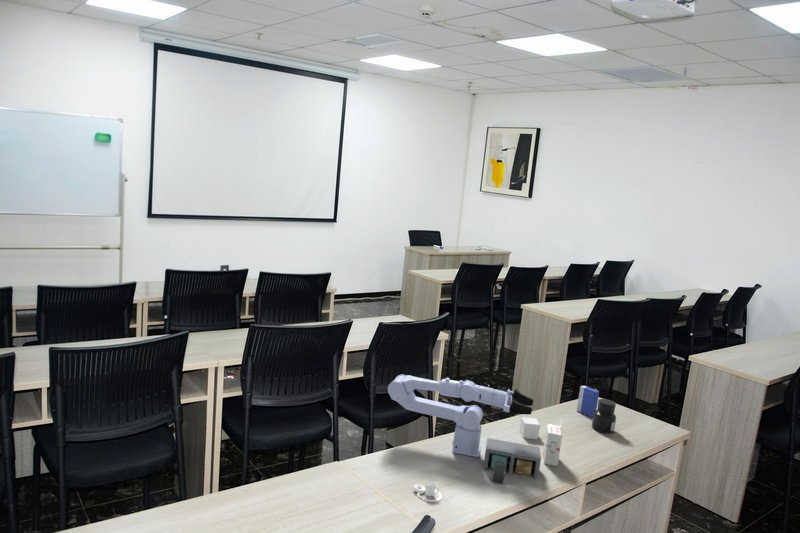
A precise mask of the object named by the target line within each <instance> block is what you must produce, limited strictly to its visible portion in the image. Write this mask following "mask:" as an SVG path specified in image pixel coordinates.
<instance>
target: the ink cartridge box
mask: <svg viewBox="0 0 800 533" xmlns="http://www.w3.org/2000/svg"><path fill="white" fill-rule="evenodd" d="M563 427H564V426H563V421H562V418H560V425H556V424H550V423H547V427H546V434H545V439H544V440H545V442H544V444H543V446H544V447H543V453H542V454H543V455H542V456H543V464H544V465H549V466H553V467H558V465H559V460H560V453H561V447H562V446H561V445H562V438H563Z"/></svg>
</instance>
